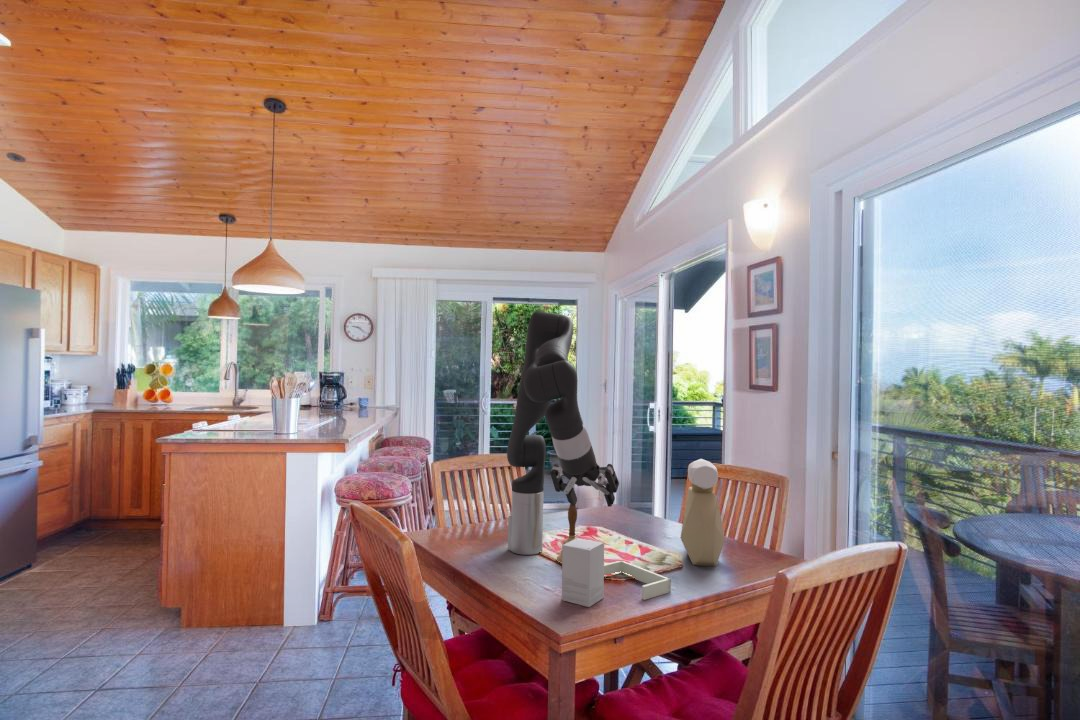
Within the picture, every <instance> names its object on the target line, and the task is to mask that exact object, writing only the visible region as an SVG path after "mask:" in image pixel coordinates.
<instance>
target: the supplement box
mask: <svg viewBox="0 0 1080 720" xmlns="http://www.w3.org/2000/svg"><path fill="white" fill-rule="evenodd" d="M561 551H562V564H561V601H564V602H568V603H573V604H576V605H580V606H584V607H587V608H590V607H592V606H593V605H595V604H596V603H598V602H599V601H601V600H602V599H604V597H605V593H604V589H605V587H604V586H605V583H604V582H605V578H604V564H605V543H604V542H600V541H595V540H590V539H585V538H580V537H577V538H575V539H574V540H572V541H570V542H568V543H566V544H564V545H563V544H562V545H561Z"/></svg>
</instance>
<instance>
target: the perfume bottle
mask: <svg viewBox="0 0 1080 720" xmlns="http://www.w3.org/2000/svg"><path fill="white" fill-rule="evenodd" d="M687 475H688V481H689V482H690V483H691V486H689V487H688V489H687V493H686V501H685V508H684V513H683V521H682V525H681V532H680V541H681V542H682V544H683V547H684V549H685V551H686V553H687V555H688V557H689V559H690V561H691V563H692V565H693V566H697V567H699V566H703V567H715V566H717V564H718V561H719V559H720V556H721V553H722V551H723V547H724V544H725V542H726V538H725V533H724V528H723V522H722V516H721V510H720V505H719V500H718V496H717V495H716V494H715V493H714V492H713V487H714V486H715V485H716V484H717V483H718V480H719V474H718V468H717V467H716V466H715V465H714V464H713V463H712V462H711V461H709V460H706V459H703V458H699V459H697V460H693V461H692V462H691V463H689V464H688V467H687Z"/></svg>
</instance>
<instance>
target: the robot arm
mask: <svg viewBox="0 0 1080 720" xmlns="http://www.w3.org/2000/svg"><path fill="white" fill-rule="evenodd" d="M573 334H574V323H573V320H572V319H571V317H569V316H566V315H564V314H560V313H559V314H558V313H554V312H553V313H552V312H549V311H548V312H547V311H541V310H540V311H539V310H538V311H534V312H533V313H532V314H531V316H530V318H529V321H528V325H527V333H526V340H525V341H526V342H525V353H524V360H523V367H522V372H521V377H520V381H519V382H520V383H519V386H518V392H517V396H516V397H517V398H516V405H515V407H516V408H515V414H514V420H513V424H512V426H511V427H512V428H511V431H510V436H509V438H508V443H507V449H506V458H507V463H508V464H509V465H510V466H511V467H515V468H531V470H530V471H528V472H527V473H526V474H524V475H522V476H519V477H517V478H515V479H514V480H512V482H511V510H510V511H511V513H510V514H511V515H509V516H508V518H507V519H508V521H507V523H508V524H507V551H508V550H509V551H511V553H514V554H518V555H523V556H524V555H525V556H526V555H528V556H532V555H538V554H540V553H541V552H540V551H541V550H542V551H543V540H544V539H543V536H544V534H543V533H544V529H543V528H544V486H545V485H544V484H545V468H546V467H545V464H546V453H547V450H546V449H547V447H546V441H545V438H544V436H542V435H540V434H528V432H529V431H530V430H531V429H532V428H534V426H536V425H537V424H538V423H540V421H541V420H542V419H543V418H544V419H545V421H546V424H547V427H548V430H549V432H550V436H551V439H552V445H553V447H554V451H555V453H556V456H557V458H558V461H559V464H560V466H559V465H558V464H556V463H555V464H553V466H552V468H551V470H550V477H551V480H552V483H553V488H554V490H555V491H556V492H557V493H561V492H563V494H564V495H565V497H566V499H567V502H568V503H569V504H570V503H571V505H572V506H575V505H577V502H578V497H577V494H576V491H575V489H574V486H575V485H576V486H577V487H583V486H586V487H593V488H594V489H595V490H596V491H601V492H602V493H603V494H604V498H605V502H606V505H607V507H612V506H613V505H614V503H615V499H616V498H615V494H616V493H617V492H618V489H619V485H620V481H619V478H618V477H617V473H616V471H615V469H614V465H613V464H611V463H607V465H606V466H600V465H599V464H598V462H597V458H596V454H595V452H594V449H593V446H592V442H591V440H590V436H589V433H588V431H587V429H586V427H585V425H584V422H583V419H582V416H581V413H580V409H579V404H578V402H579V401H578V372H577V370H576V368H575V367H574V365H573V364H572V363H571V362H569V358H568V356H569V353H570V350H571V346H572V342H573V341H572V340H573V336H574V335H573ZM556 399H558V400H557V401H555V402H552V401H554V400H556ZM562 475H563V476H564V477H566V478H567V479H568V480H567V481H566V483H564V479H563V477H562ZM614 493H615V494H614ZM539 552H540V553H539Z"/></svg>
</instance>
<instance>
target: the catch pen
mask: <svg viewBox="0 0 1080 720" xmlns="http://www.w3.org/2000/svg"><path fill="white" fill-rule="evenodd" d="M620 571H621V572H624V573H627V574H630V575H632V576H634V577H635V579H634V580H637V581H638V582H641V583H644V584H643V585H641V600H643V601H645V600H649V599H652V598H655V597H658V596H662V595H666V594H668V593H671V592H672V587H671V586H672V579H671V578H670V577H669V578H668V577H666V576H664V575H661V574H659V573H656V572H653V571H651V570H648V569H645V568H642V567H640V566H638V565H635V564H633V563H630V562H628V561H624V560H617V561H613V562H609V563H604V575H606V574H611V573H615V572H620Z"/></svg>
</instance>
